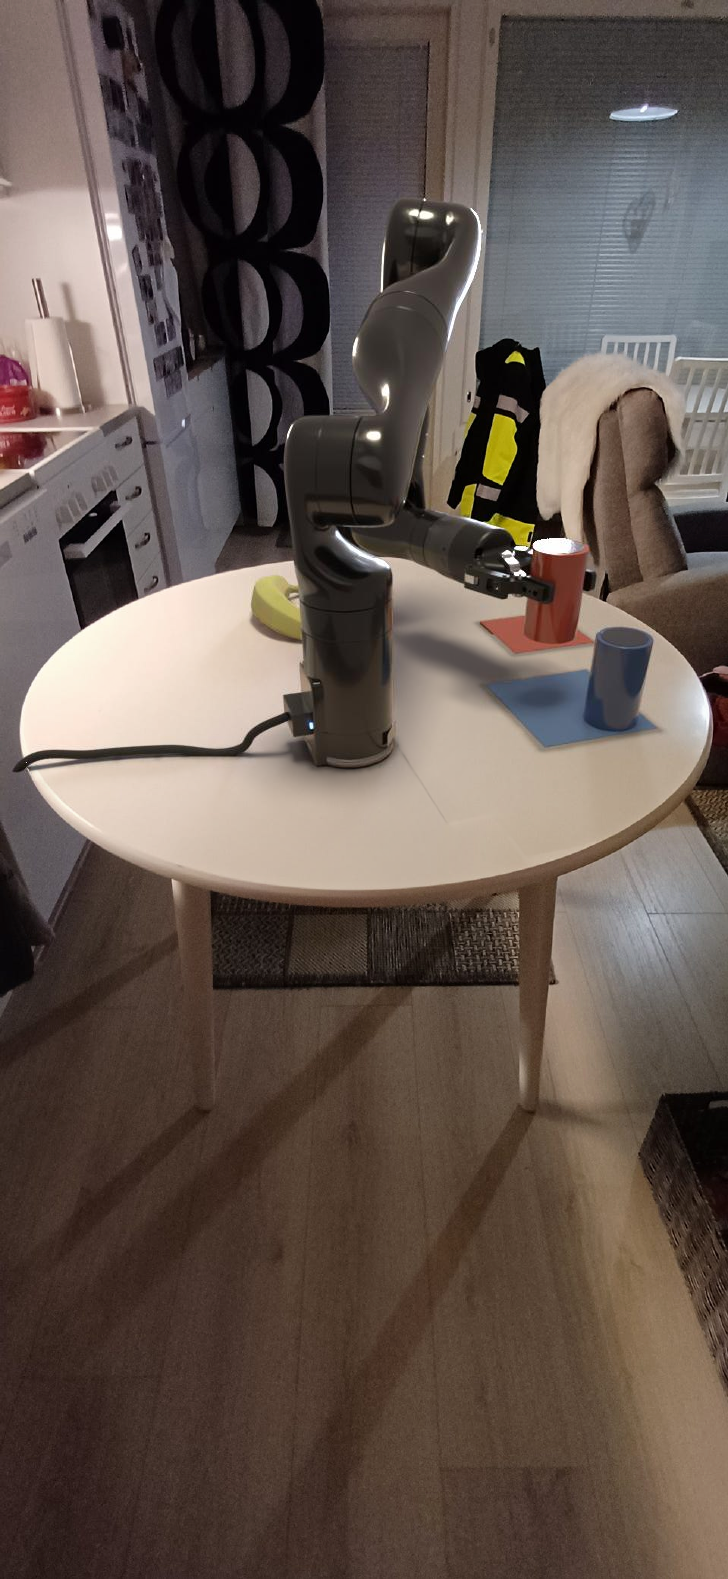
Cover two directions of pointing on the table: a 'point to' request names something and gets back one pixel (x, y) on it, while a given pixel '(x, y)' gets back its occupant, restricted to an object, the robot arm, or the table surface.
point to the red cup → (557, 590)
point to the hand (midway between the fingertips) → (572, 588)
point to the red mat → (517, 641)
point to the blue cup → (617, 678)
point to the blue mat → (555, 708)
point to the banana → (276, 605)
